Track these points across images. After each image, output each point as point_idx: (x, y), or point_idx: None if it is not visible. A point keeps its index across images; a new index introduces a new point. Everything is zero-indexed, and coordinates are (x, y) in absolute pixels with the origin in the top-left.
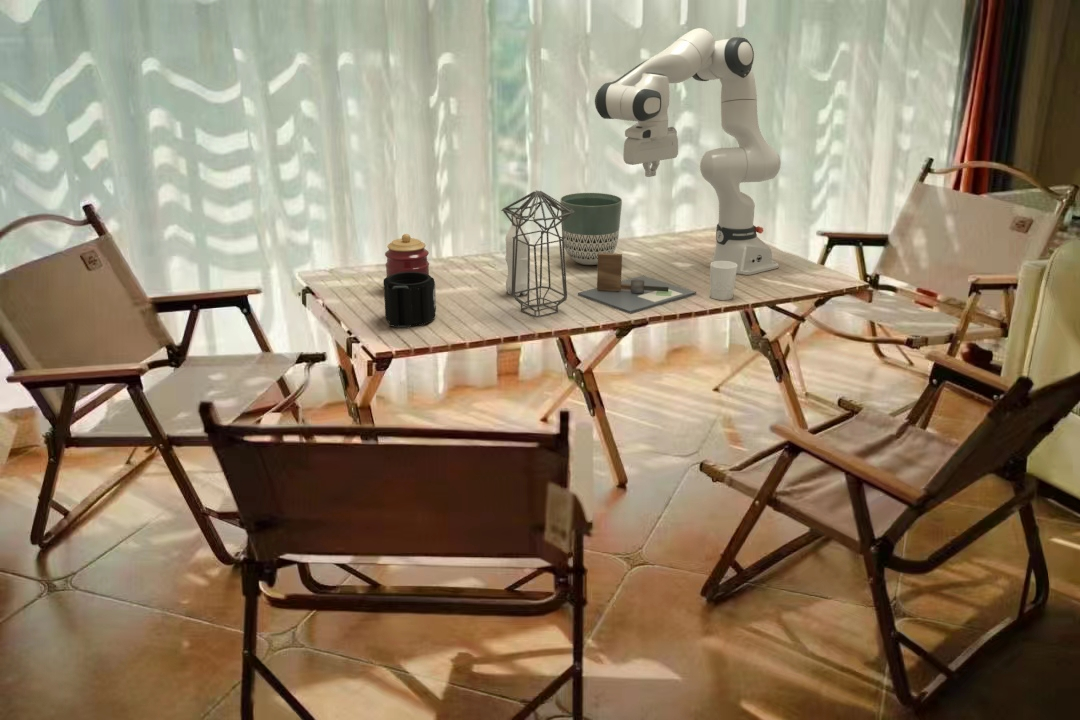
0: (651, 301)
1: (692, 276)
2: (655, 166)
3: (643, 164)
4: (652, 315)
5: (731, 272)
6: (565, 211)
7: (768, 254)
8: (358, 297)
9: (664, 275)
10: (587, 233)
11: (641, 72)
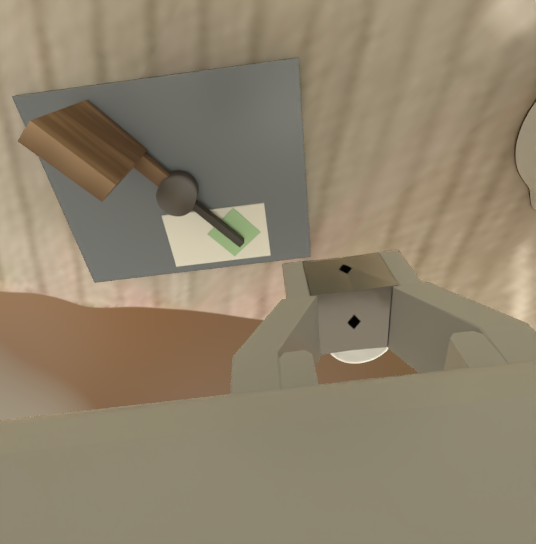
0: (174, 257)
1: (424, 133)
2: (430, 369)
3: (233, 383)
4: (138, 305)
5: (349, 355)
6: None
7: None
8: None
9: (370, 75)
10: None
11: None
